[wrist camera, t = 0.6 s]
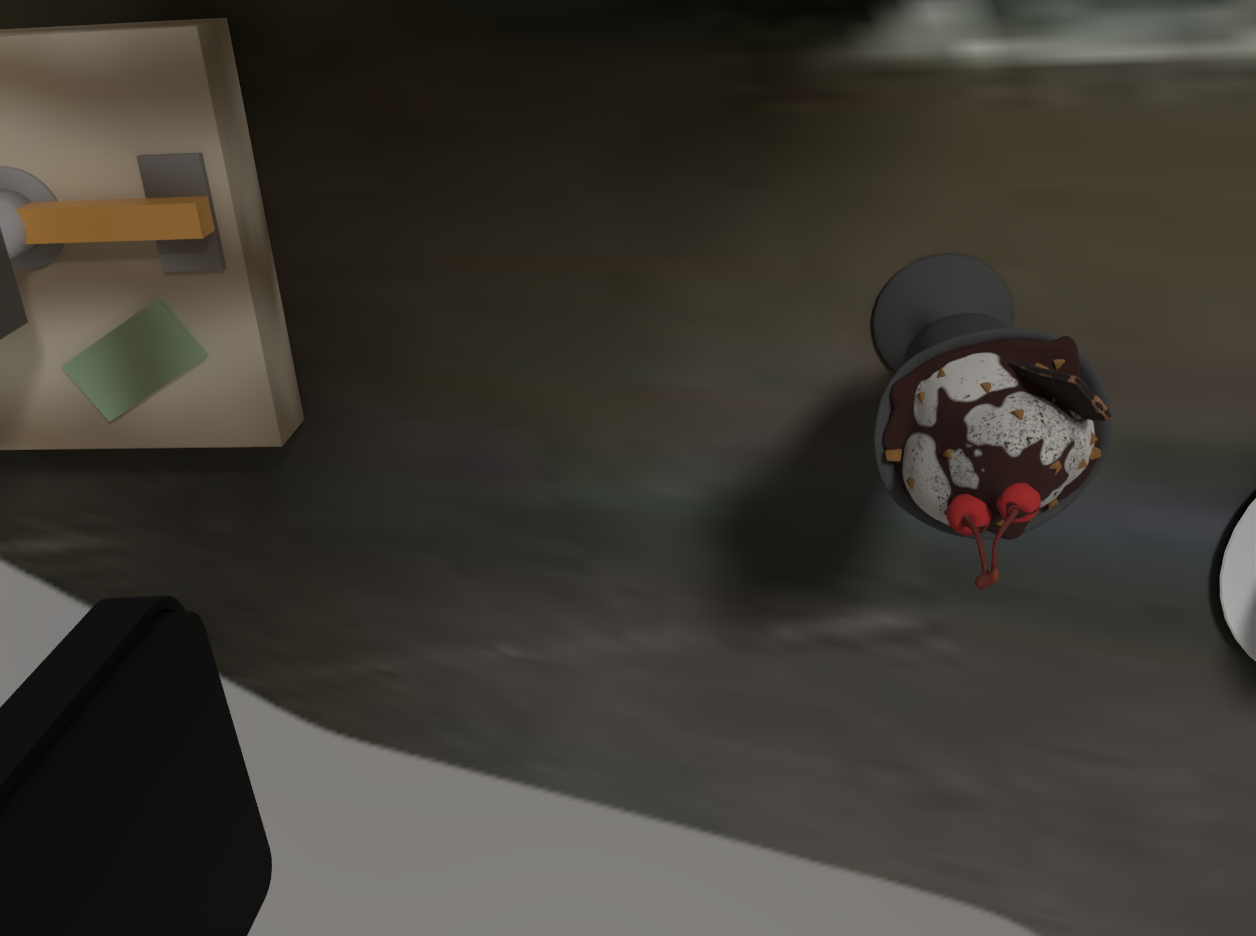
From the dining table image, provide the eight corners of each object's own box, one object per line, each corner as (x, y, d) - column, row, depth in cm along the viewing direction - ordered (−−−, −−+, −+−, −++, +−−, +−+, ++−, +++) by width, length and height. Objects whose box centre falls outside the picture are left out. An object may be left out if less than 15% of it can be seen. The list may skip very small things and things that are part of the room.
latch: (6, 303, 43) (-124, 378, 37) (-44, 134, 41) (-194, 183, 34) (229, 297, 42) (135, 373, 36) (192, 123, 40) (83, 172, 33)
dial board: (-126, 36, 42) (-181, 46, 40) (226, 17, 41) (192, 27, 38) (-3, 423, 49) (-44, 453, 46) (304, 419, 48) (279, 449, 45)
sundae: (863, 420, 45) (909, 650, 32) (836, 250, 42) (873, 425, 29) (1044, 389, 44) (1170, 615, 31) (1028, 212, 41) (1159, 376, 28)
